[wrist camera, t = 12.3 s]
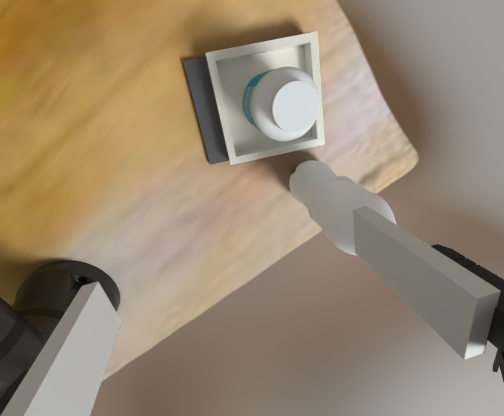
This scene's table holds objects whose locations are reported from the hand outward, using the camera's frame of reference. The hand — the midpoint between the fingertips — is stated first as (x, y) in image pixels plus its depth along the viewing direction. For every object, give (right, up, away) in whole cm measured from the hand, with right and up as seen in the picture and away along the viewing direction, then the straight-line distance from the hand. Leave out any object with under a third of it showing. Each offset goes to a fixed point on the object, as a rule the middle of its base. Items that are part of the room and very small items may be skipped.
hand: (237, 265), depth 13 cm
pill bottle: (+3, +18, +23) cm, 30 cm away
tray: (+3, +18, +24) cm, 30 cm away
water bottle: (+10, +8, +30) cm, 33 cm away
